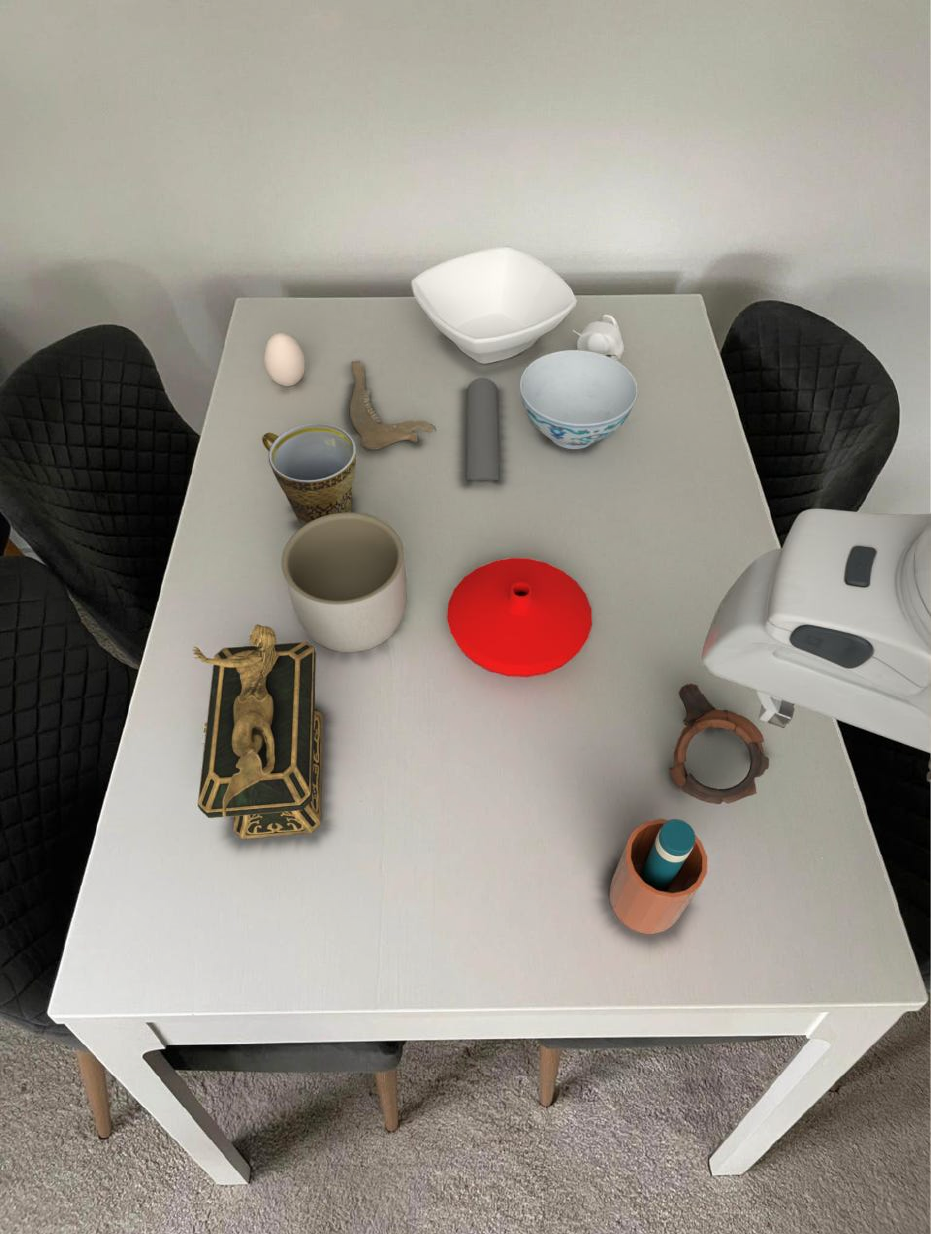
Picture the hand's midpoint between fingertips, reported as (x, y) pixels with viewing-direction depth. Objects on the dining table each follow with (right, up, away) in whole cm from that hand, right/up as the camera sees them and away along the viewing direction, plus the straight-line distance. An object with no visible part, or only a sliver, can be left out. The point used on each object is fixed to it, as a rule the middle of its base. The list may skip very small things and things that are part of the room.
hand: (855, 743), depth 47 cm
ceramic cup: (-41, +21, +56) cm, 73 cm away
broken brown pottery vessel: (+2, -7, +35) cm, 36 cm away
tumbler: (-6, -18, +27) cm, 33 cm away
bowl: (-18, +48, +76) cm, 92 cm away
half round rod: (-20, +32, +64) cm, 74 cm away
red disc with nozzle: (-16, +6, +45) cm, 48 cm away
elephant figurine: (-3, +45, +74) cm, 87 cm away
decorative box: (-40, -10, +34) cm, 53 cm away
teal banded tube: (-6, -18, +27) cm, 32 cm away
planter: (-35, +7, +46) cm, 58 cm away
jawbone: (-33, +37, +68) cm, 84 cm away
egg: (-47, +41, +71) cm, 94 cm away
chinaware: (-8, +32, +64) cm, 72 cm away
